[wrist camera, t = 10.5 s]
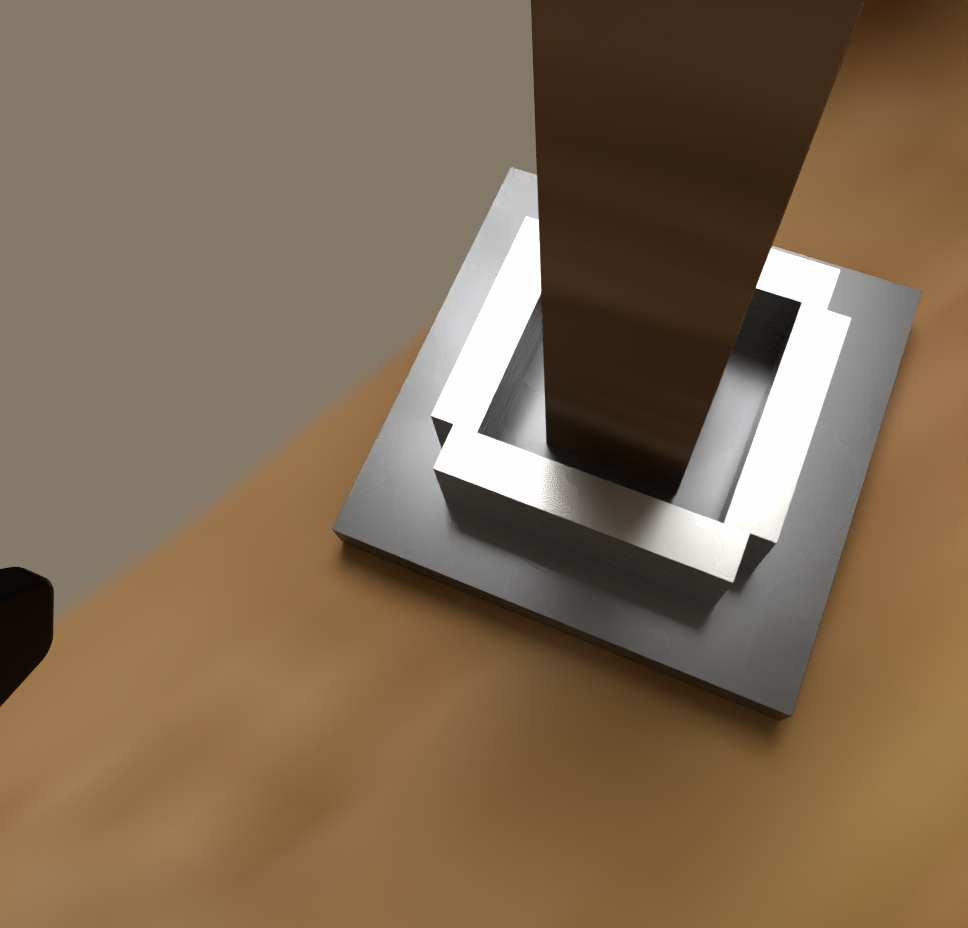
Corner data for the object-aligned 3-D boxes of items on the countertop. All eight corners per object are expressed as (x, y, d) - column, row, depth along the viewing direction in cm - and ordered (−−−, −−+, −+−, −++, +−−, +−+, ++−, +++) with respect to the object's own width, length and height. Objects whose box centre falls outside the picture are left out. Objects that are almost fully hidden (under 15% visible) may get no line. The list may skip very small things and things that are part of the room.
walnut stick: (678, 490, 19) (880, -44, 7) (546, 441, 20) (526, -128, 8) (723, 371, 20) (974, -287, 8) (596, 328, 21) (649, -345, 9)
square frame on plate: (780, 720, 18) (819, 705, 16) (342, 541, 20) (307, 500, 18) (906, 313, 21) (958, 239, 19) (512, 192, 23) (506, 109, 21)
